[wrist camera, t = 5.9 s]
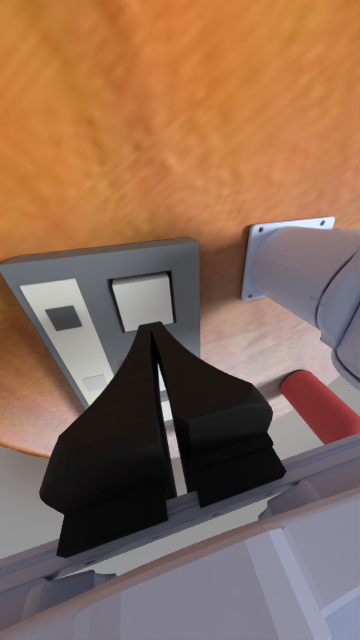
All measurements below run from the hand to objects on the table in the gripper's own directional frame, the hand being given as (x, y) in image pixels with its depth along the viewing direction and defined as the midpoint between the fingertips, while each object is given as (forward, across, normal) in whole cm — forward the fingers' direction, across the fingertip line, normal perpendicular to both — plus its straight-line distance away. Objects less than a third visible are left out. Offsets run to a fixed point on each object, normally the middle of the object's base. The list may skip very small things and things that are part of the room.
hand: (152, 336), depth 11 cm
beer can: (+9, -25, +24) cm, 35 cm away
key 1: (+8, 0, +1) cm, 8 cm away
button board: (+8, +2, +8) cm, 12 cm away
